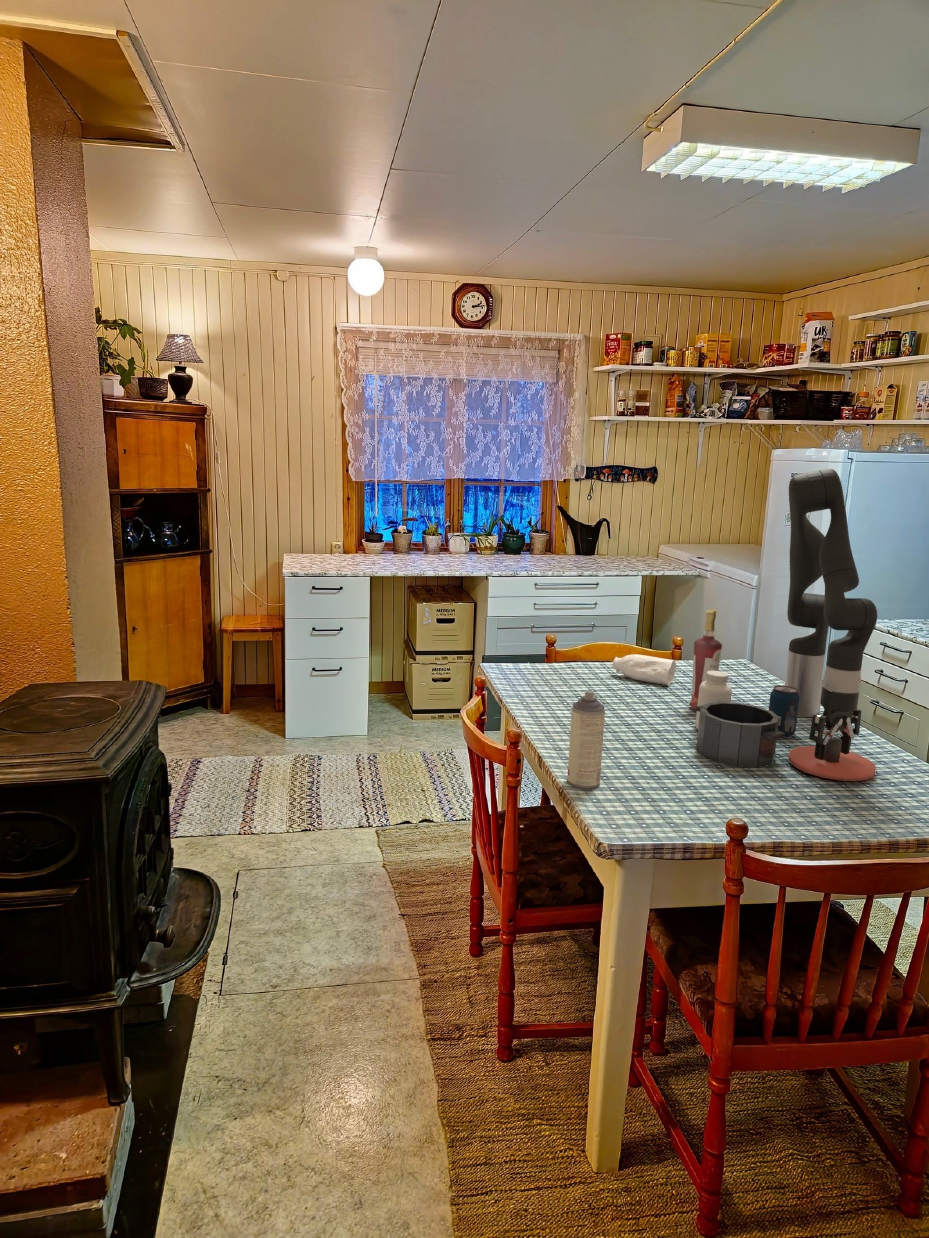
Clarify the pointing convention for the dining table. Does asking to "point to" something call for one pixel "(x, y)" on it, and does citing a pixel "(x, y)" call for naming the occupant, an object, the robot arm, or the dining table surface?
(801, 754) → the lid
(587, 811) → the dining table surface
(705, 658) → the liquor
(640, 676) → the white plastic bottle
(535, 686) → the dining table surface
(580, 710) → the aerosol can
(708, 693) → the pill bottle
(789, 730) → the soda can
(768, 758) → the pot
